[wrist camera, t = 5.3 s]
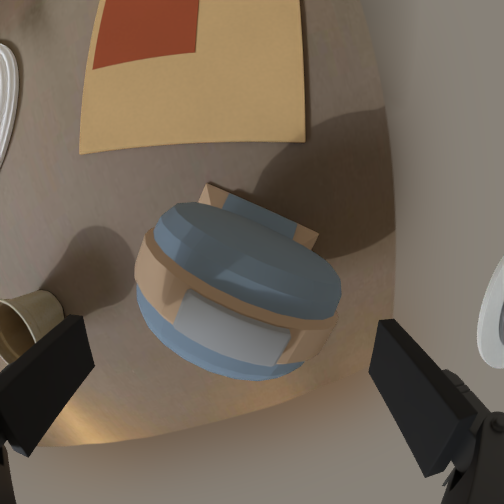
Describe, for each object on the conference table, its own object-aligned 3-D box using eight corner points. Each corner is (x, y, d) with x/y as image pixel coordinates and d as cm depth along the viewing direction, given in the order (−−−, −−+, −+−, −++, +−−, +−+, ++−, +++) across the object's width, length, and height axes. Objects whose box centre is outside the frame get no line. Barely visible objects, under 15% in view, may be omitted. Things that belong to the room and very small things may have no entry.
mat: (296, -24, 23) (297, -27, 23) (304, 143, 28) (305, 142, 28) (103, -4, 24) (101, -6, 23) (81, 154, 28) (78, 154, 28)
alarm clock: (163, 266, 31) (78, 351, 14) (197, 179, 29) (123, 175, 12) (286, 318, 32) (312, 440, 15) (327, 237, 30) (408, 302, 13)
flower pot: (26, 265, 31) (-17, 285, 23) (79, 294, 32) (39, 323, 24) (23, 323, 33) (-12, 350, 25) (73, 353, 34) (40, 387, 26)
